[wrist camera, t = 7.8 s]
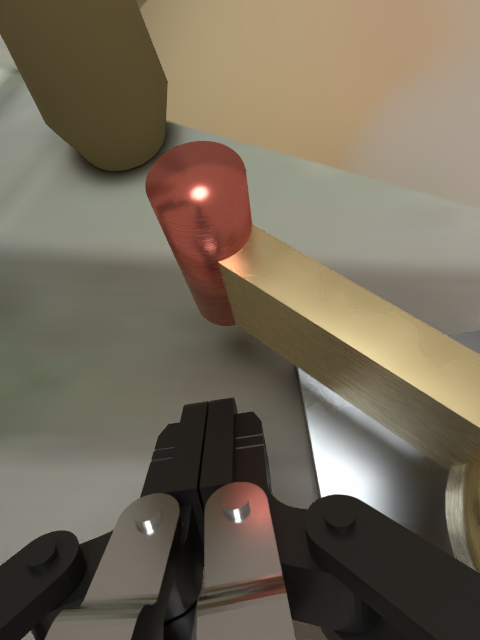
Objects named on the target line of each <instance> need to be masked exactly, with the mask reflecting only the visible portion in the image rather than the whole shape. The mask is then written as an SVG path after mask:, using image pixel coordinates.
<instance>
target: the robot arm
mask: <svg viewBox="0 0 480 640" xmlns="http://www.w3.org/2000/svg"><path fill="white" fill-rule="evenodd" d="M203 568H204V593H203V589H202V580H203ZM292 619H293V620H297V621H301V622H305V623H309V624H313V625H317V626H320V627H321V629H322V631H323V633H324V635H325V636H326V637H327V639H328V640H480V573H479V572H477V571H475V570H474V569H472V568H470V567H469V566H467V565H466V564H464V563H462V562H461V561H459V560H457V559H456V558H454V557H453V556H451V555H449V554H448V553H446V552H444V551H443V550H441V549H439V548H438V547H436V546H435V545H433V544H431V543H430V542H428V541H426V540H425V539H423V538H422V537H420V536H418V535H417V534H415V533H413V532H412V531H410V530H409V529H407V528H405V527H404V526H402V525H400V524H399V523H397V522H396V521H394V520H392V519H391V518H389V517H387V516H386V515H384V514H382V513H381V512H379V511H378V510H376V509H374V508H373V507H371V506H369V505H368V504H366V503H365V502H363V501H361V500H359V499H357V498H355V497H352V496H349V495H343V494H333V495H327V496H324V497H322V498H320V499H318V500H316V501H315V502H314V503H313V504H312V505H311V506H310V507H309V508H308V510H306V509H299V508H294V507H290V506H287V505H285V504H283V503H281V502H279V501H278V500H277V499H276V498H275V497H274V496H273V495H272V490H271V481H270V472H269V463H268V457H267V451H266V446H265V440H264V434H263V428H262V422H261V420H260V419H259V418H258V417H257V415H256V414H255V413H254V412H247V413H241V414H238V413H237V407H236V403H235V399H234V398H227V399H220V400H214V401H210V403H209V402H208V401H207V402H201V403H194V404H187V405H184V407H183V411H182V416H181V420H180V423H173V424H168V425H167V427H166V428H165V429H164V430H163V431H162V433H161V434H160V435H159V436H158V439H157V443H156V446H155V451H154V453H153V456H152V462H151V463H150V466H149V470H148V473H147V476H146V480H145V483H144V486H143V490H142V493H141V497H140V498H139V499H138V500H136V501H134V502H133V503H131V504H130V505H129V506H128V507H127V508H126V509H125V510H124V511H123V513H122V514H121V515H120V517H119V519H118V521H117V524H116V526H115V528H114V530H113V531H111V532H109V533H107V534H104V535H102V536H100V537H97V538H95V539H92V540H90V541H87V542H85V543H82V544H79V542H78V540H77V537H76V536H75V535H74V534H73V533H71V532H69V531H54V532H50V533H47V534H45V535H43V536H40V537H38V538H37V539H35V540H33V541H32V542H31V543H29V544H28V545H27V546H25V547H24V548H23V549H21V550H20V551H19V552H18V553H16V554H15V555H14V556H12V557H11V558H10V559H9V560H7V561H6V562H5V563H3V564H2V565H1V566H0V640H21V639H22V638H23V637H24V636H25V635H26V634H27V633H28V632H29V631H30V630H31V632H32V634H33V636H34V638H35V640H296V638H295V633H294V628H293V623H292Z"/></svg>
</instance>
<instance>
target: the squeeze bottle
mask: <svg viewBox="0 0 480 640" xmlns="http://www.w3.org/2000/svg"><path fill="white" fill-rule="evenodd" d="M0 34H1V36H2V38H3V40H4V42H5V44H6V46H7V48H8V50H9V52H10V54H11V56H12V58H13V60H14V62H15V64H16V66H17V68H18V70H19V72H20V74H21V76H22V78H23V80H24V82H25V84H26V86H27V88H28V90H29V92H30V94H31V96H32V97H33V99H34V101H35V103H36V105H37V107H38V109H39V111H40V113H41V115H42V117H43V119H44V121H45V123H46V124H47V125H48V126H49V127H50V128H51V129H52V130H53V131H54V132H55V133H56V134H58V135H59V136H60V137H61V138H62V139H63V140H65V141H66V142H67V143H68V144H69V145H70V146H72V147H73V148H74V149H75V150H76V151H78V152H79V153H80V154H81V155H82V156H83V157H85V158H86V159H87V160H88V161H89V162H91V163H92V164H93V165H94V166H95V167H97V168H101V169H104V170H108V171H123V170H129V169H131V168H134V167H137V166H140V165H142V164H144V163H145V162H147V161H148V160H149V159H151V158H152V157H153V156H155V155H156V153H157V152H158V151H159V149H160V148H161V146H162V145H163V143H164V137H165V128H166V105H167V83H168V82H167V79H166V76H165V74H164V71H163V69H162V66H161V64H160V61H159V59H158V56H157V54H156V51H155V48H154V46H153V43H152V41H151V38H150V35H149V33H148V30H147V28H146V25H145V23H144V20H143V17H142V15H141V13H140V10H139V7H138V5H137V2H136V0H0Z"/></svg>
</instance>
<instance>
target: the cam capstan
mask: <svg viewBox="0 0 480 640" xmlns="http://www.w3.org/2000/svg"><path fill="white" fill-rule="evenodd" d="M146 193H147V196H148V199H149V201H150V203H151V205H152V208H153V210H154V212H155V214H156V216H157V219H158V221H159V223H160V225H161V227H162V230H163V232H164V234H165V236H166V238H167V241H168V243H169V245H170V247H171V249H172V252H173V254H174V256H175V258H176V260H177V263H178V265H179V267H180V269H181V272H182V274H183V276H184V278H185V280H186V283H187V285H188V287H189V289H190V291H191V294H192V296H193V298H194V300H195V302H196V305H197V307H198V309H199V311H200V313H201V314H202V315H203V317H204V318H206V319H207V320H208V321H210V322H212V323H214V324H217V325H222V326H231V325H237V326H238V327H240V328H241V329H243V330H244V331H246V332H247V333H249V334H250V335H251V336H253V337H254V338H256V339H257V340H259V341H260V342H262V343H263V344H265V345H266V346H267V347H269V348H270V349H272V350H273V351H275V352H276V353H278V354H279V355H281V356H282V357H283V358H285V359H286V360H288V361H289V362H291V363H292V364H294V365H295V366H297V367H298V368H299V369H301V370H302V371H304V372H305V373H307V374H308V375H310V376H311V377H313V378H314V379H315V380H317V381H318V382H320V383H321V384H323V385H324V386H326V387H327V388H329V389H330V390H331V391H333V392H334V393H336V394H337V395H339V396H340V397H342V398H343V399H345V400H346V401H347V402H349V403H350V404H352V405H353V406H355V407H356V408H358V409H359V410H361V411H362V412H363V413H365V414H366V415H368V416H369V417H371V418H372V419H374V420H375V421H376V422H378V423H379V424H381V425H382V426H384V427H385V428H387V429H388V430H390V431H391V432H392V433H394V434H395V435H397V436H398V437H400V438H401V439H403V440H404V441H406V442H407V443H408V444H410V445H411V446H413V447H414V448H416V449H417V450H419V451H420V452H422V453H423V454H424V455H426V456H427V457H429V458H430V459H432V460H433V461H435V462H436V463H438V464H439V465H440V466H442V467H443V468H445V469H446V470H448V471H449V474H448V480H447V487H446V519H447V528H448V534H449V538H450V542H451V546H452V550H453V554H454V556H455V558H456V559H457V560H459V561H461V562H462V563H464V564H466V565H467V566H469V567H470V568H472V569H474V570H475V571H477V572H479V573H480V354H478V353H476V352H474V351H473V350H471V349H469V348H467V347H466V346H464V345H462V344H460V343H459V342H457V341H455V340H453V339H452V338H450V337H448V336H446V335H445V334H443V333H441V332H439V331H438V330H436V329H434V328H432V327H431V326H429V325H427V324H425V323H424V322H422V321H420V320H418V319H417V318H415V317H413V316H411V315H410V314H408V313H406V312H404V311H403V310H401V309H399V308H397V307H396V306H394V305H392V304H390V303H389V302H387V301H385V300H384V299H382V298H380V297H378V296H377V295H375V294H373V293H371V292H370V291H368V290H366V289H364V288H363V287H361V286H359V285H357V284H356V283H354V282H352V281H350V280H349V279H347V278H345V277H343V276H342V275H340V274H338V273H336V272H335V271H333V270H331V269H329V268H328V267H326V266H324V265H322V264H321V263H319V262H317V261H315V260H314V259H312V258H310V257H308V256H307V255H305V254H303V253H301V252H300V251H298V250H296V249H294V248H293V247H291V246H289V245H287V244H286V243H284V242H282V241H280V240H279V239H277V238H275V237H273V236H272V235H270V234H268V233H266V232H265V231H263V230H261V229H259V228H258V227H256V226H254V225H252V219H251V211H250V203H249V194H248V186H247V177H246V169H245V166H244V163H243V161H242V159H241V158H240V156H239V155H238V154H237V153H236V152H235V151H233V150H232V149H231V148H229V147H227V146H225V145H223V144H220V143H216V142H211V141H196V142H190V143H185V144H182V145H179V146H177V147H174V148H173V149H171V150H169V151H167V152H166V153H164V154H163V155H162V156H161V157H159V158H158V159H157V161H156V162H155V163H154V164H153V165H152V167H151V169H150V170H149V173H148V175H147V178H146Z"/></svg>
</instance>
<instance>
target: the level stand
mask: <svg viewBox="0 0 480 640" xmlns="http://www.w3.org/2000/svg"><path fill="white" fill-rule="evenodd" d="M448 337H450V338H452V339H453V340H455V341H457V342H459V343H460V344H462V345H464V346H466V347H467V348H469V349H471V350H473V351H474V352H476V353H478V354H480V331H476V332H469V333H462V334H455V335H448ZM296 372H297V378H298V383H299V389H300V394H301V400H302V405H303V411H304V416H305V422H306V427H307V433H308V438H309V444H310V450H311V455H312V461H313V466H314V472H315V477H316V483H317V488H318V494H319V499H320V498H322V497H324V496H327V495H333V494H343V495H349V496H352V497H355V498H357V499H359V500H361V501H363V502H365V503H366V504H368V505H369V506H371V507H373V508H374V509H376V510H378V511H379V512H381V513H382V514H384V515H386V516H387V517H389V518H391V519H392V520H394V521H396V522H397V523H399V524H400V525H402V526H404V527H405V528H407V529H409V530H410V531H412V532H413V533H415V534H417V535H418V536H420V537H422V538H423V539H425V540H426V541H428V542H430V543H431V544H433V545H435V546H436V547H438V548H439V549H441V550H443V551H444V552H446V553H448V554H449V555H451V556H453V557H454V558H455V556H454V554H453V550H452V546H451V542H450V538H449V534H448V528H447V519H446V487H447V480H448V474H449V471H448V470H446V469H445V468H443V467H442V466H440V465H439V464H438V463H436V462H435V461H433V460H432V459H430V458H429V457H427V456H426V455H424V454H423V453H422V452H420V451H419V450H417V449H416V448H414V447H413V446H411V445H410V444H408V443H407V442H406V441H404V440H403V439H401V438H400V437H398V436H397V435H395V434H394V433H392V432H391V431H390V430H388V429H387V428H385V427H384V426H382V425H381V424H379V423H378V422H376V421H375V420H374V419H372V418H371V417H369V416H368V415H366V414H365V413H363V412H362V411H361V410H359V409H358V408H356V407H355V406H353V405H352V404H350V403H349V402H347V401H346V400H345V399H343V398H342V397H340V396H339V395H337V394H336V393H334V392H333V391H331V390H330V389H329V388H327V387H326V386H324V385H323V384H321V383H320V382H318V381H317V380H315V379H314V378H313V377H311V376H310V375H308V374H307V373H305V372H304V371H302V370H301V369H299V368H298V367H297V366H296Z"/></svg>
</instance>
